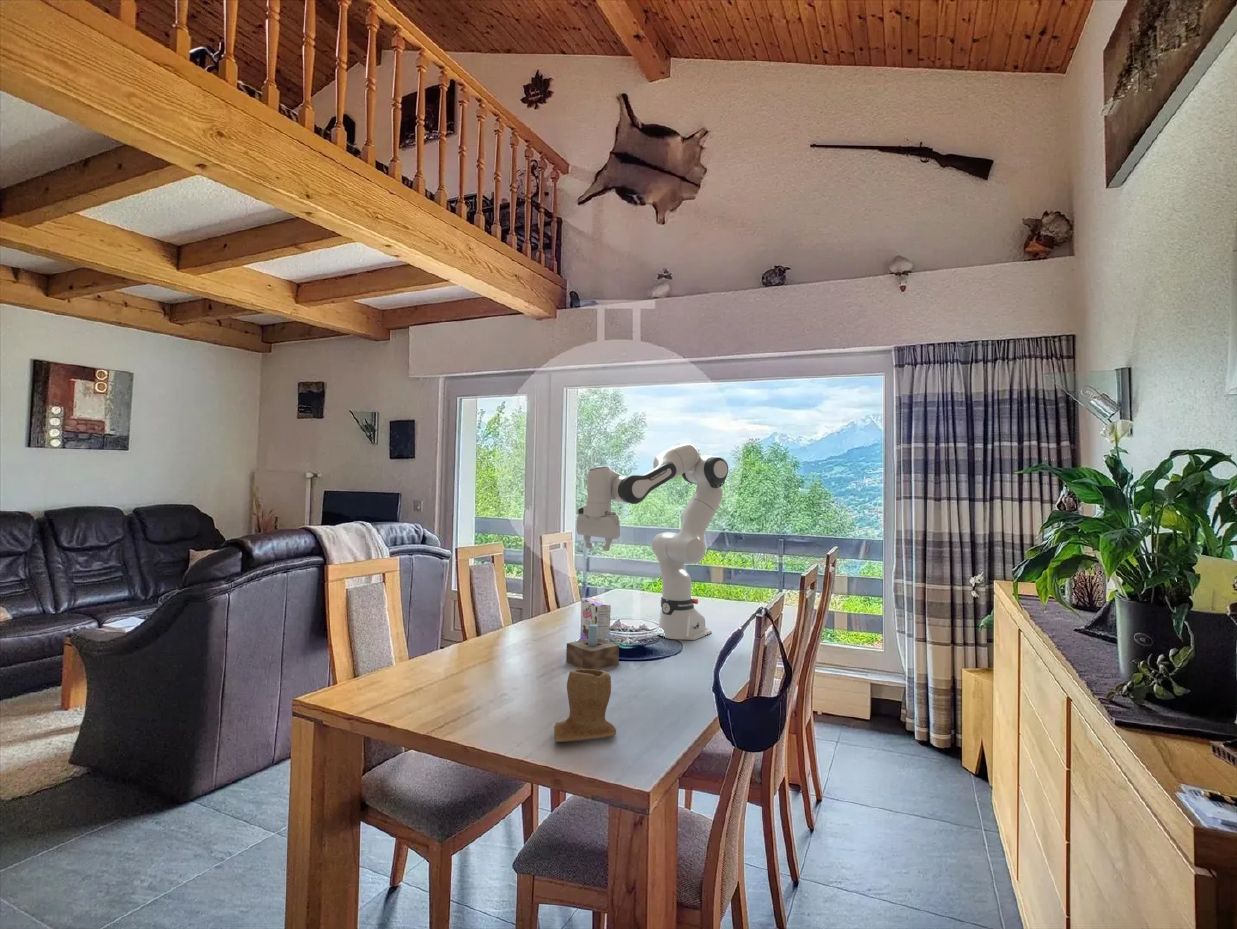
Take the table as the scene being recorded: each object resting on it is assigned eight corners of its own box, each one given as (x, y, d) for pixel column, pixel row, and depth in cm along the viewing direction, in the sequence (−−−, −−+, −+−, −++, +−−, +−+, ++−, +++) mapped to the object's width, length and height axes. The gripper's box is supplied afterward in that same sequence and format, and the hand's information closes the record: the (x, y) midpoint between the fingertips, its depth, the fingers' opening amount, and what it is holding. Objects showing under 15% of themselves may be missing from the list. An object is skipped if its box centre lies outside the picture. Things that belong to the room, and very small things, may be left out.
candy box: (579, 643, 223) (580, 597, 224) (594, 641, 226) (595, 596, 226) (594, 653, 211) (595, 605, 211) (610, 652, 213) (611, 604, 214)
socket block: (594, 655, 209) (594, 637, 209) (618, 663, 200) (619, 645, 200) (566, 661, 201) (566, 643, 201) (590, 670, 192) (590, 651, 192)
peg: (592, 660, 203) (593, 623, 203) (598, 663, 200) (599, 625, 201) (585, 662, 201) (586, 625, 201) (591, 664, 198) (592, 627, 199)
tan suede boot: (606, 722, 153) (608, 661, 153) (620, 742, 141) (622, 676, 142) (545, 728, 148) (547, 665, 148) (555, 749, 137) (557, 681, 137)
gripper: (624, 512, 216) (623, 552, 216) (587, 508, 231) (586, 546, 231) (611, 512, 212) (610, 553, 212) (574, 509, 227) (572, 547, 227)
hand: (597, 549), depth 222 cm, fingers open, 8 cm apart
